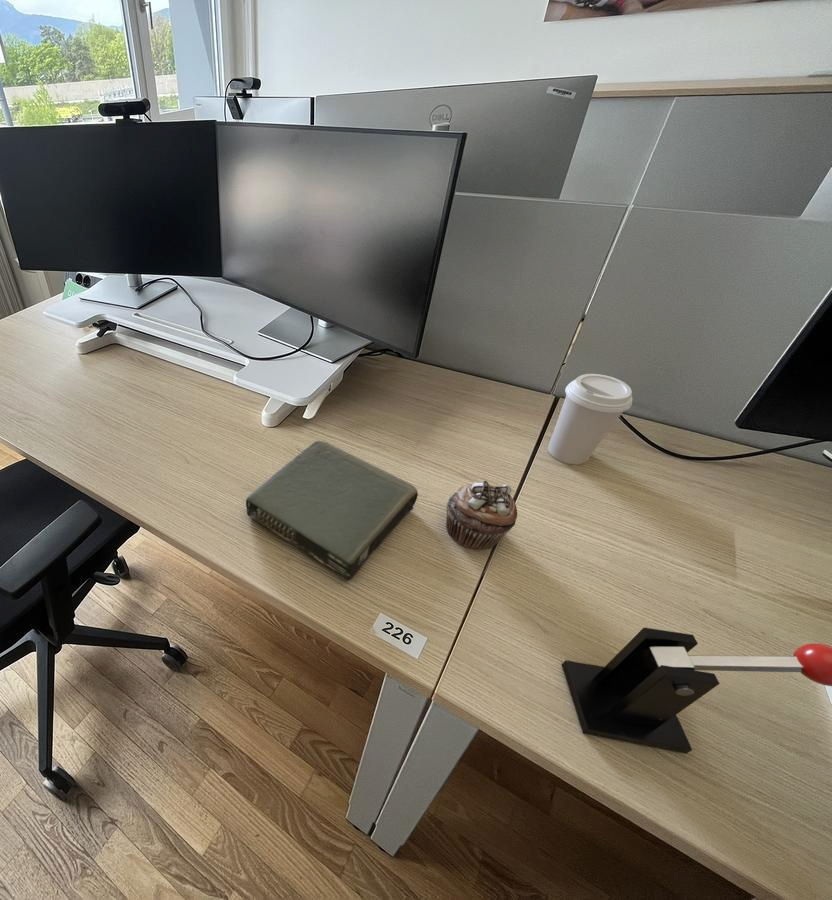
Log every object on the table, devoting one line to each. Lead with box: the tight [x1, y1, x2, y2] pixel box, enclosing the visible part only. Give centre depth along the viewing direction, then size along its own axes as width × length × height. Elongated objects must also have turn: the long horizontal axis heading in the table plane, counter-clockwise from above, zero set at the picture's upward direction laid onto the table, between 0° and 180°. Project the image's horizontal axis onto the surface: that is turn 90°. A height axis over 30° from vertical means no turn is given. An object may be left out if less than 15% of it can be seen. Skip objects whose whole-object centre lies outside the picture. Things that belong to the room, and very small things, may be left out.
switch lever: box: [648, 643, 832, 687], centre depth 45 cm, size 14×4×4 cm, turn 76°
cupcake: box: [445, 480, 518, 551], centre depth 72 cm, size 10×10×10 cm
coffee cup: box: [547, 373, 633, 465], centre depth 83 cm, size 10×10×15 cm
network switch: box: [245, 440, 419, 581], centre depth 79 cm, size 23×23×5 cm
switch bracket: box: [561, 627, 720, 754], centre depth 50 cm, size 10×8×13 cm
